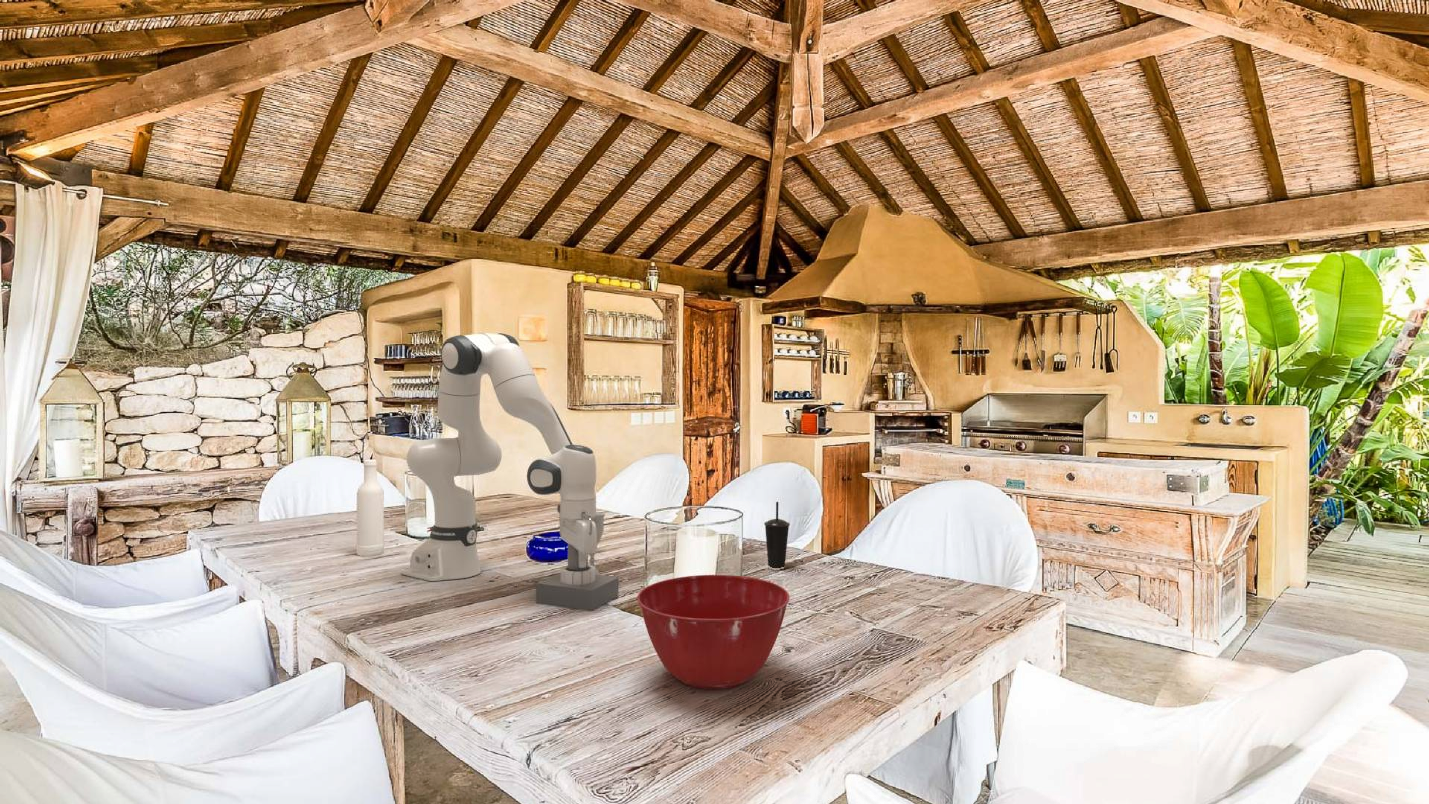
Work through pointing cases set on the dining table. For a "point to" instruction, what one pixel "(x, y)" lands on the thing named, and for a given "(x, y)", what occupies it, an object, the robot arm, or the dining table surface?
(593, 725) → the dining table surface
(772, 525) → the drinking cup
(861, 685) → the dining table surface
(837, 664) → the dining table surface
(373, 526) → the bottle
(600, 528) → the chalice
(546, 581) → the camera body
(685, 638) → the mixing bowl
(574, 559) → the lens
